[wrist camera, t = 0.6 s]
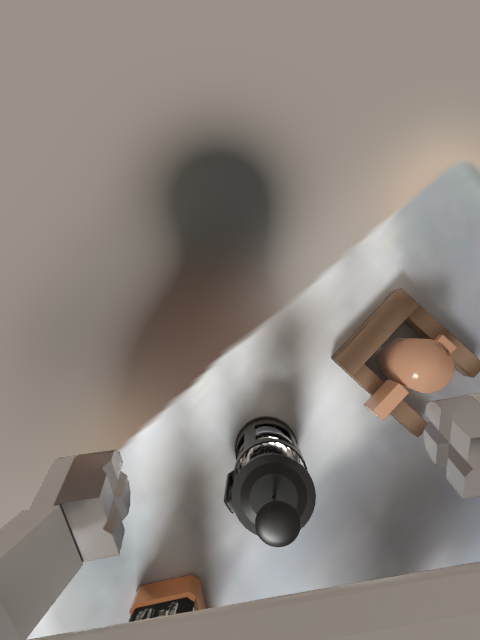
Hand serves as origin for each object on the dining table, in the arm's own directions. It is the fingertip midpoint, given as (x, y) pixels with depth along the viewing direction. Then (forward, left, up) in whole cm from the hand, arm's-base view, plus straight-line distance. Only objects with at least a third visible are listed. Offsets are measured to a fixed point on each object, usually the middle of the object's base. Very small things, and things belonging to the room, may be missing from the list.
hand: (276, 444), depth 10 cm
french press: (-12, +10, -48) cm, 51 cm away
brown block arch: (-18, -14, -48) cm, 53 cm away
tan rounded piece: (-18, -12, -48) cm, 53 cm away
